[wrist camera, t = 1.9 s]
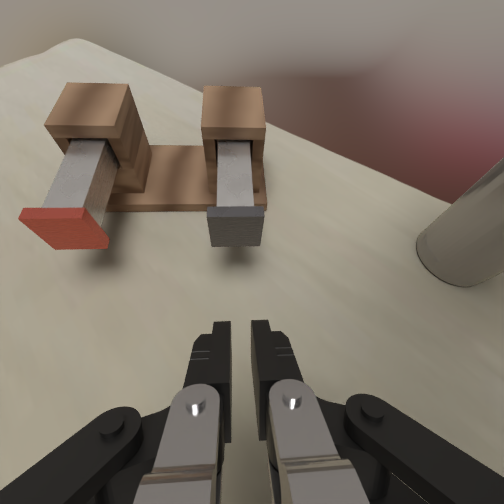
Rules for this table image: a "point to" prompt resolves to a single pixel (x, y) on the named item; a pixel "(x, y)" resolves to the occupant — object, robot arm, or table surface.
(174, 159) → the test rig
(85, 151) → the red plug
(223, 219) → the charcoal plug
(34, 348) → the table surface
